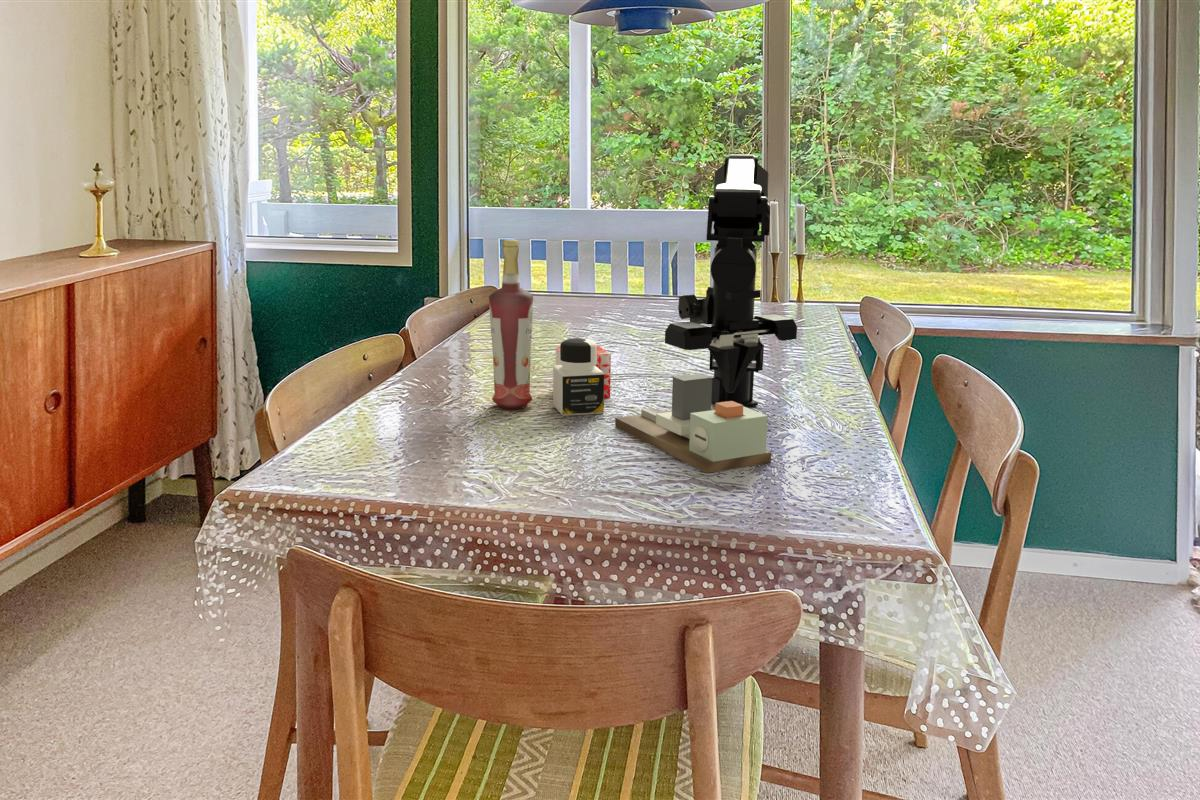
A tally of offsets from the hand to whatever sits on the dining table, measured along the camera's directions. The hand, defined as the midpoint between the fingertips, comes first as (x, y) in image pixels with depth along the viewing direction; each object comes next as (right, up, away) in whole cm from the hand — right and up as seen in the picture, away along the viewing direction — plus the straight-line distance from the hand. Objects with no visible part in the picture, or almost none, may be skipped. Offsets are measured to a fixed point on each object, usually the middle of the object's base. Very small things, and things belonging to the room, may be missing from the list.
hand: (729, 392), depth 147 cm
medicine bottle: (-22, -3, +30) cm, 37 cm away
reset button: (0, -6, +1) cm, 6 cm away
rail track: (-5, -8, +11) cm, 14 cm away
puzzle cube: (-21, 0, +41) cm, 46 cm away
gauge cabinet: (0, -9, +2) cm, 9 cm away
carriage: (-5, -5, +10) cm, 12 cm away
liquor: (-33, -2, +31) cm, 46 cm away
